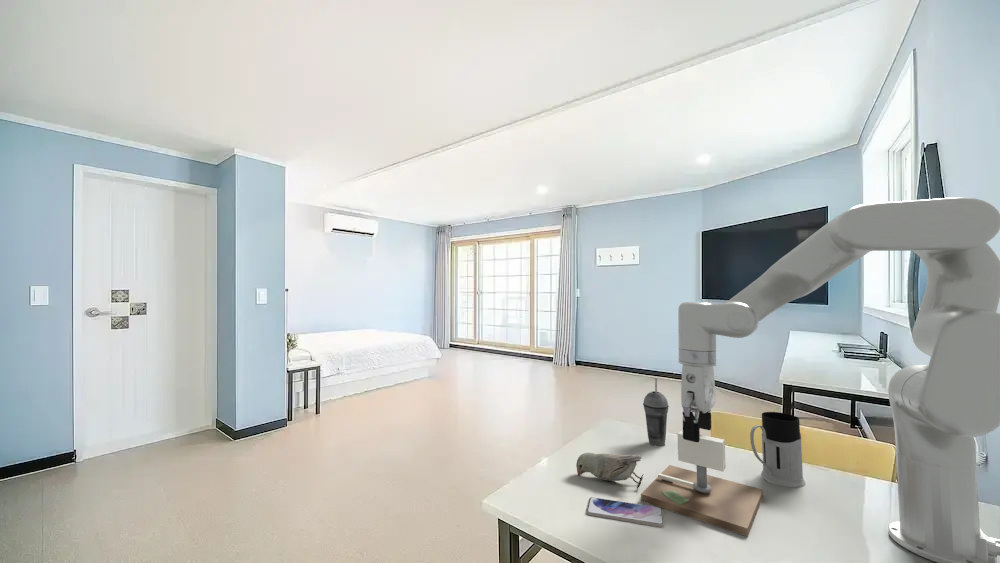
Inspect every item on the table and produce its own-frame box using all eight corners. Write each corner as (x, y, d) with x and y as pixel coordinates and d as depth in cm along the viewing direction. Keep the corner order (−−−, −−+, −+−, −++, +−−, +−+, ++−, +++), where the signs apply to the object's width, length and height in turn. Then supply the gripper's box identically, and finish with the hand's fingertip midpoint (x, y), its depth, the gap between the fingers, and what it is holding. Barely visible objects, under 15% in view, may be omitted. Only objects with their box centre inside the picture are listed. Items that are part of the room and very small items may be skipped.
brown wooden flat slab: (763, 496, 87) (762, 488, 87) (747, 536, 72) (747, 527, 72) (669, 470, 100) (669, 464, 100) (641, 500, 86) (640, 492, 86)
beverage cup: (665, 439, 121) (663, 374, 122) (673, 448, 114) (671, 379, 115) (641, 439, 122) (639, 374, 123) (647, 448, 115) (645, 379, 116)
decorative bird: (579, 470, 101) (579, 441, 101) (645, 483, 94) (644, 451, 94) (573, 479, 96) (573, 448, 97) (642, 493, 89) (641, 460, 89)
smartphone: (589, 496, 87) (662, 507, 82) (589, 500, 87) (662, 511, 82) (585, 512, 80) (664, 525, 76) (585, 516, 80) (664, 529, 75)
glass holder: (814, 483, 92) (811, 419, 93) (771, 494, 87) (768, 426, 88) (777, 468, 100) (775, 409, 101) (736, 477, 96) (734, 415, 96)
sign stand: (727, 493, 85) (725, 438, 85) (723, 500, 82) (721, 443, 82) (661, 474, 94) (659, 425, 94) (655, 480, 91) (654, 429, 92)
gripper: (705, 364, 78) (705, 450, 78) (724, 354, 91) (725, 428, 91) (666, 360, 83) (667, 441, 83) (690, 351, 96) (690, 421, 96)
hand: (697, 434), depth 87 cm, fingers open, 9 cm apart
